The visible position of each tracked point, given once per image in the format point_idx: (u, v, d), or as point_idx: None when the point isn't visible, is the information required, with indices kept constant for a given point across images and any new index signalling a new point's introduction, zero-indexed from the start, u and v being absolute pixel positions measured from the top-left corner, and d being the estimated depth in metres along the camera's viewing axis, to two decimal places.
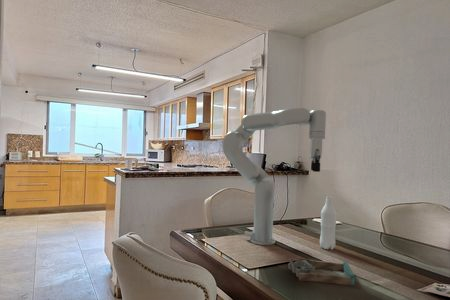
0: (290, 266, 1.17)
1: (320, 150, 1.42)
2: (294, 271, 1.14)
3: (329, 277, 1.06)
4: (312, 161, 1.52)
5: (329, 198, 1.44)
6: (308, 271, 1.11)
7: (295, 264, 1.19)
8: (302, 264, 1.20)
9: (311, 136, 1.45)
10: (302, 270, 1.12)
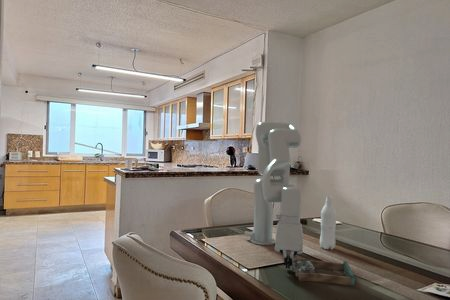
0: (292, 265, 1.17)
1: None
2: (294, 270, 1.14)
3: (329, 277, 1.06)
4: (286, 255, 1.15)
5: (329, 198, 1.44)
6: (307, 271, 1.11)
7: (298, 264, 1.19)
8: (306, 264, 1.19)
9: (296, 223, 1.13)
10: (302, 270, 1.12)
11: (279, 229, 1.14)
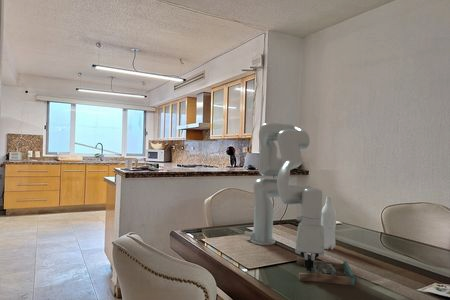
0: (313, 268, 1.16)
1: None
2: None
3: (329, 277, 1.06)
4: (307, 257, 1.13)
5: (329, 198, 1.44)
6: (329, 274, 1.09)
7: (320, 266, 1.17)
8: (327, 267, 1.17)
9: (318, 225, 1.11)
10: (323, 273, 1.11)
11: (300, 231, 1.13)
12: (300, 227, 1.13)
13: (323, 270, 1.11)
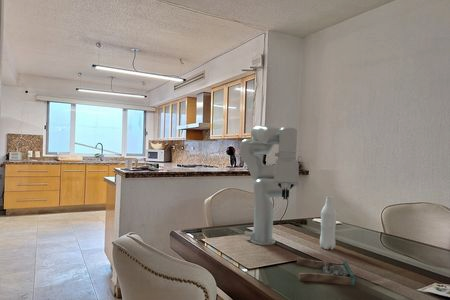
0: (325, 269, 1.15)
1: None
2: None
3: (329, 277, 1.06)
4: (284, 187, 1.29)
5: (329, 198, 1.44)
6: None
7: (331, 268, 1.16)
8: (339, 269, 1.16)
9: (293, 158, 1.27)
10: (335, 274, 1.10)
11: (277, 164, 1.28)
12: (277, 161, 1.29)
13: (335, 272, 1.10)
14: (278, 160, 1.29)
